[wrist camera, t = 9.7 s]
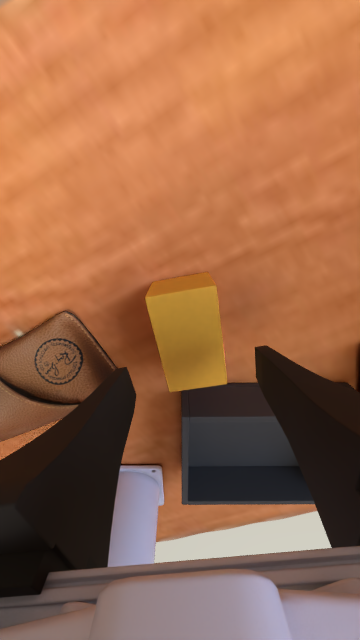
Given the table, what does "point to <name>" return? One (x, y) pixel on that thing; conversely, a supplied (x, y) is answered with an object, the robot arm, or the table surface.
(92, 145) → the table surface
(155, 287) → the block
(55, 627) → the robot arm
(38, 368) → the sunglasses case
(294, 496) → the tub
